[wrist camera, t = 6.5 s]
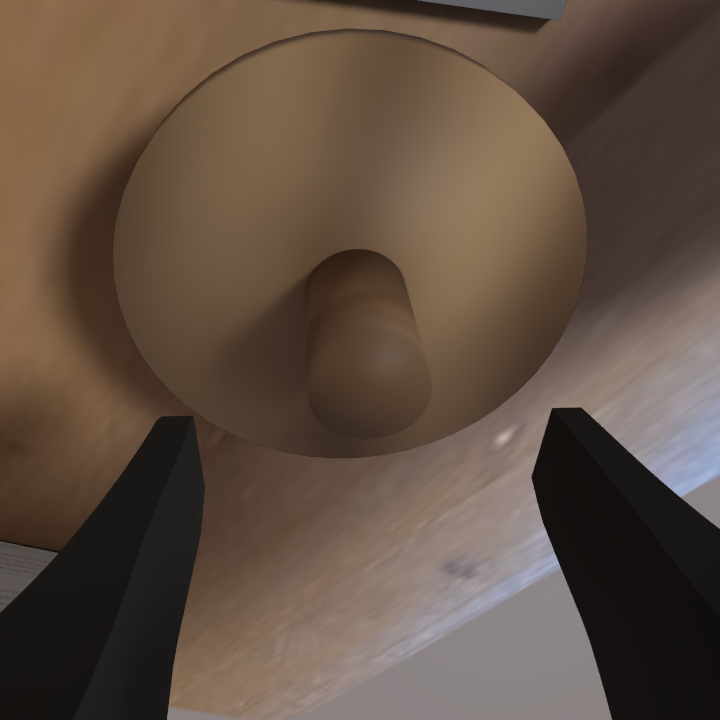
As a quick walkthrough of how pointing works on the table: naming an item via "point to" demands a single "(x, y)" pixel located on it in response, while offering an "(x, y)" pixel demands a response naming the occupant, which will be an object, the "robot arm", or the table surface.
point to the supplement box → (19, 569)
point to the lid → (349, 244)
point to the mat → (514, 6)
